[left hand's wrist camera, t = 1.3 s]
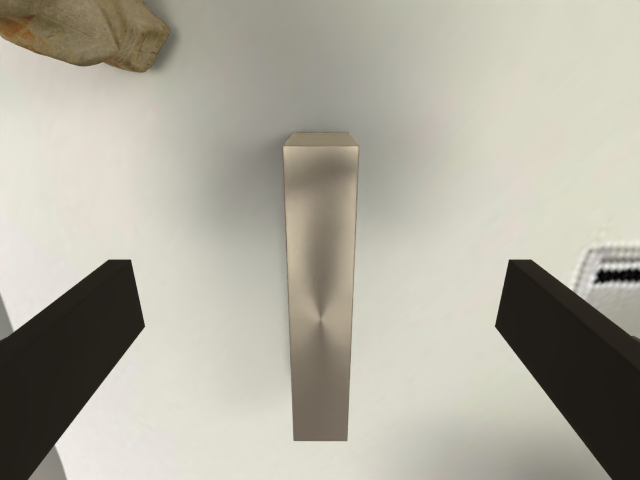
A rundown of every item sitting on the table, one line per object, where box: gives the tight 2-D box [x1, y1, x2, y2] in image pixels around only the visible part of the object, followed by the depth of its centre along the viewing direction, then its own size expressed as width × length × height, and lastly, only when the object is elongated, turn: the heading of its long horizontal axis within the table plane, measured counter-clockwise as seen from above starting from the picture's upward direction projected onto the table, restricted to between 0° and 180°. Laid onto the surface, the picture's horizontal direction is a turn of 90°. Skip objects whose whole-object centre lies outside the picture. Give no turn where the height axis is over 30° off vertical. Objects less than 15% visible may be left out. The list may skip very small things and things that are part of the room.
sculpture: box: [0, 0, 170, 72], centre depth 20 cm, size 6×7×15 cm
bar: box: [283, 132, 359, 441], centre depth 30 cm, size 25×5×8 cm, turn 0°
